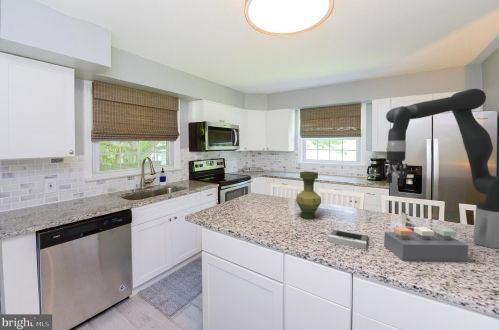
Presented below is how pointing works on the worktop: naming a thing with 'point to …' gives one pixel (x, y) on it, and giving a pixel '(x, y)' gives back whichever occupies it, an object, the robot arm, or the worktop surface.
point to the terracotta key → (403, 232)
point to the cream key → (423, 232)
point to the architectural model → (405, 219)
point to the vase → (308, 196)
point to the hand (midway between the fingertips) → (394, 184)
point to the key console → (426, 248)
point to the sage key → (445, 233)
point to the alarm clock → (348, 238)
